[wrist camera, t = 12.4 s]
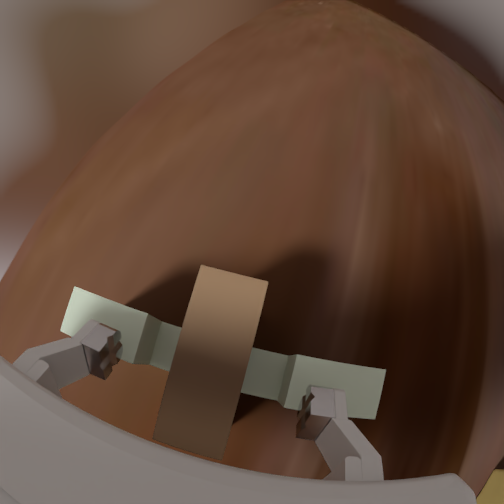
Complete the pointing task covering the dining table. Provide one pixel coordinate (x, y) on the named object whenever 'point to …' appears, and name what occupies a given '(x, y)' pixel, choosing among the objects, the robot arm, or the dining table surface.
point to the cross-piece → (210, 362)
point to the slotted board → (259, 366)
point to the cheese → (493, 489)
